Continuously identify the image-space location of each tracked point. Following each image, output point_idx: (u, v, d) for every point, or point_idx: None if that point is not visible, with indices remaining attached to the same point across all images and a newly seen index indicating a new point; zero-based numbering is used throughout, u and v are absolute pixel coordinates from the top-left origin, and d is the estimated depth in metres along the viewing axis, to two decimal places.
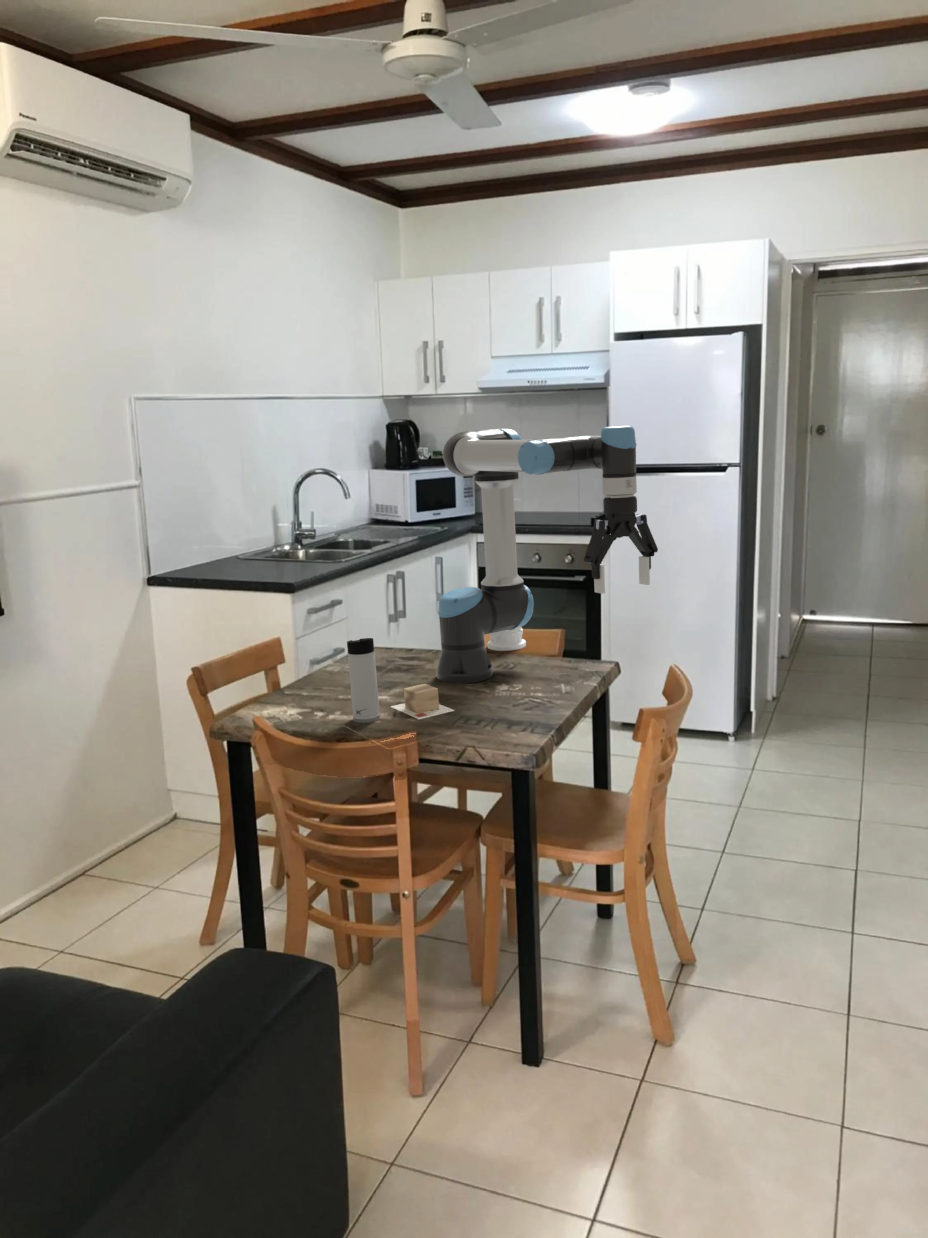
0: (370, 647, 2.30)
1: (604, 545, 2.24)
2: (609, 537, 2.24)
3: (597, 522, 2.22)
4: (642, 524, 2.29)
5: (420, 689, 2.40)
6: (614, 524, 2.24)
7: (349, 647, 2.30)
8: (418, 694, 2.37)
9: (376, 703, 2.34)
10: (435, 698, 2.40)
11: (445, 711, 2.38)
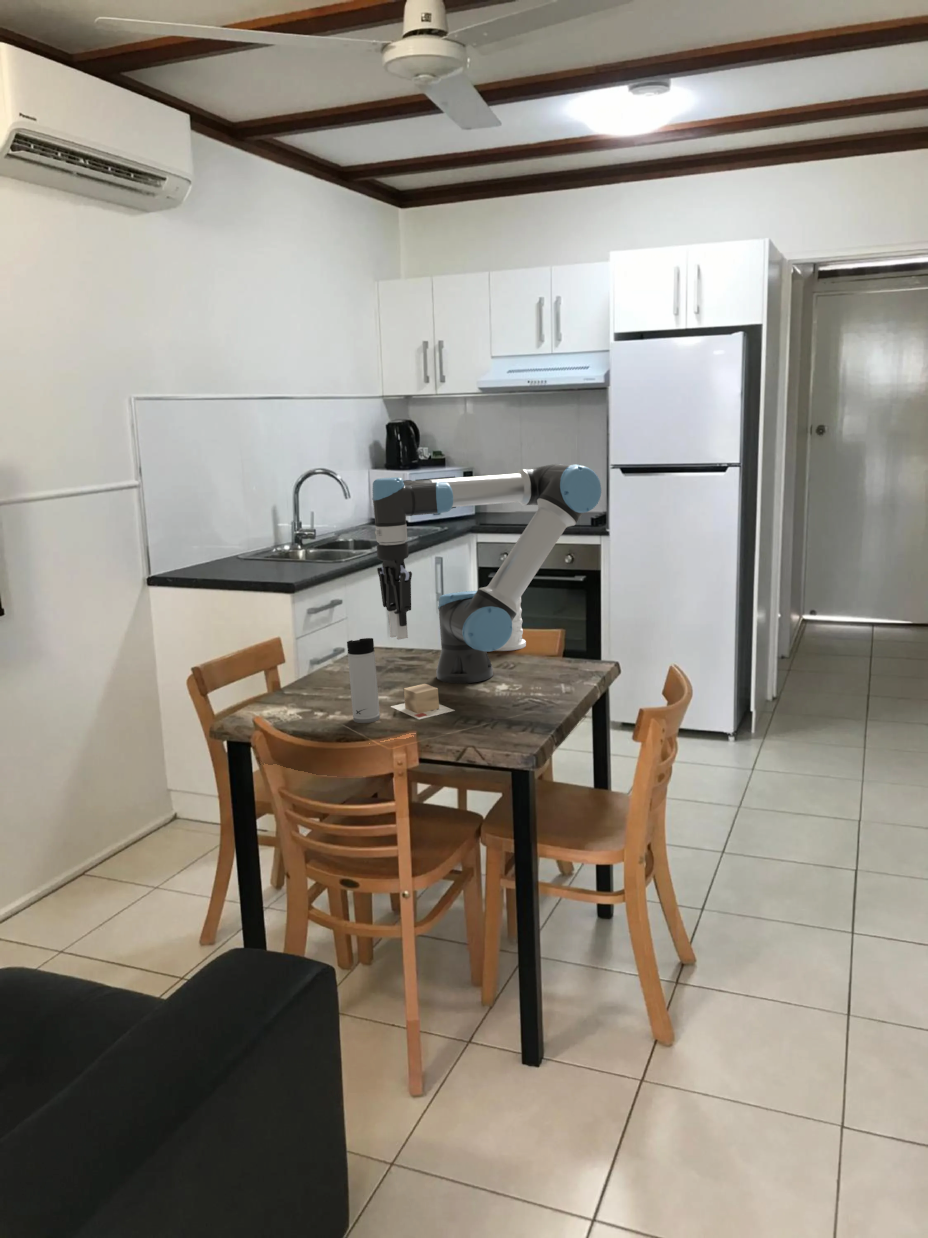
0: (370, 647, 2.31)
1: None
2: None
3: None
4: None
5: (420, 689, 2.40)
6: (384, 566, 2.44)
7: (349, 647, 2.30)
8: (418, 694, 2.37)
9: (376, 703, 2.34)
10: (435, 698, 2.40)
11: (445, 711, 2.38)
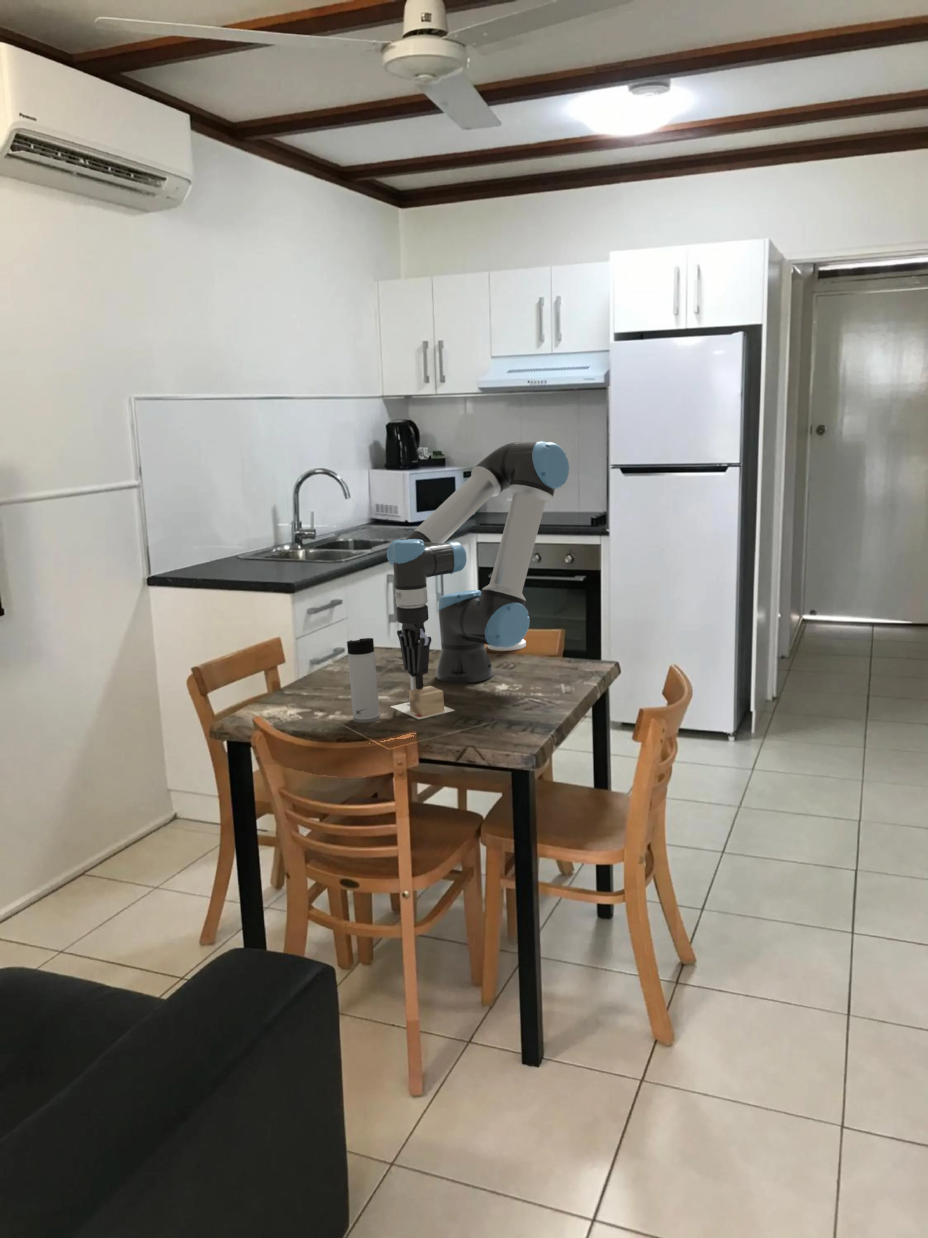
0: (370, 647, 2.31)
1: None
2: None
3: None
4: None
5: (425, 691, 2.38)
6: (404, 628, 2.40)
7: (349, 647, 2.30)
8: (423, 697, 2.34)
9: (376, 703, 2.34)
10: (440, 701, 2.37)
11: (445, 711, 2.38)
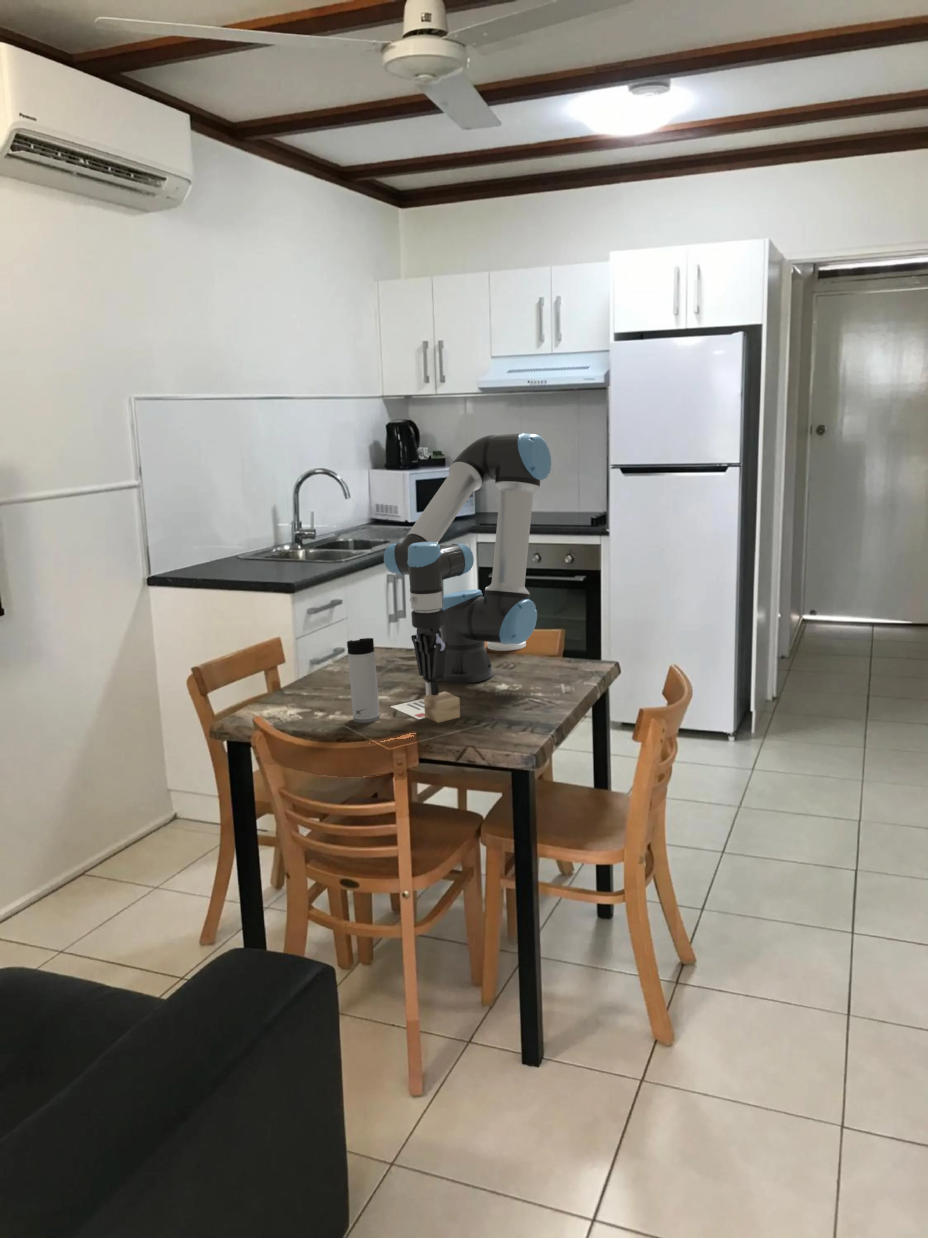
0: (370, 647, 2.31)
1: None
2: None
3: None
4: None
5: (441, 698, 2.32)
6: (418, 633, 2.34)
7: (349, 647, 2.30)
8: (439, 704, 2.29)
9: (376, 703, 2.34)
10: (456, 708, 2.32)
11: None
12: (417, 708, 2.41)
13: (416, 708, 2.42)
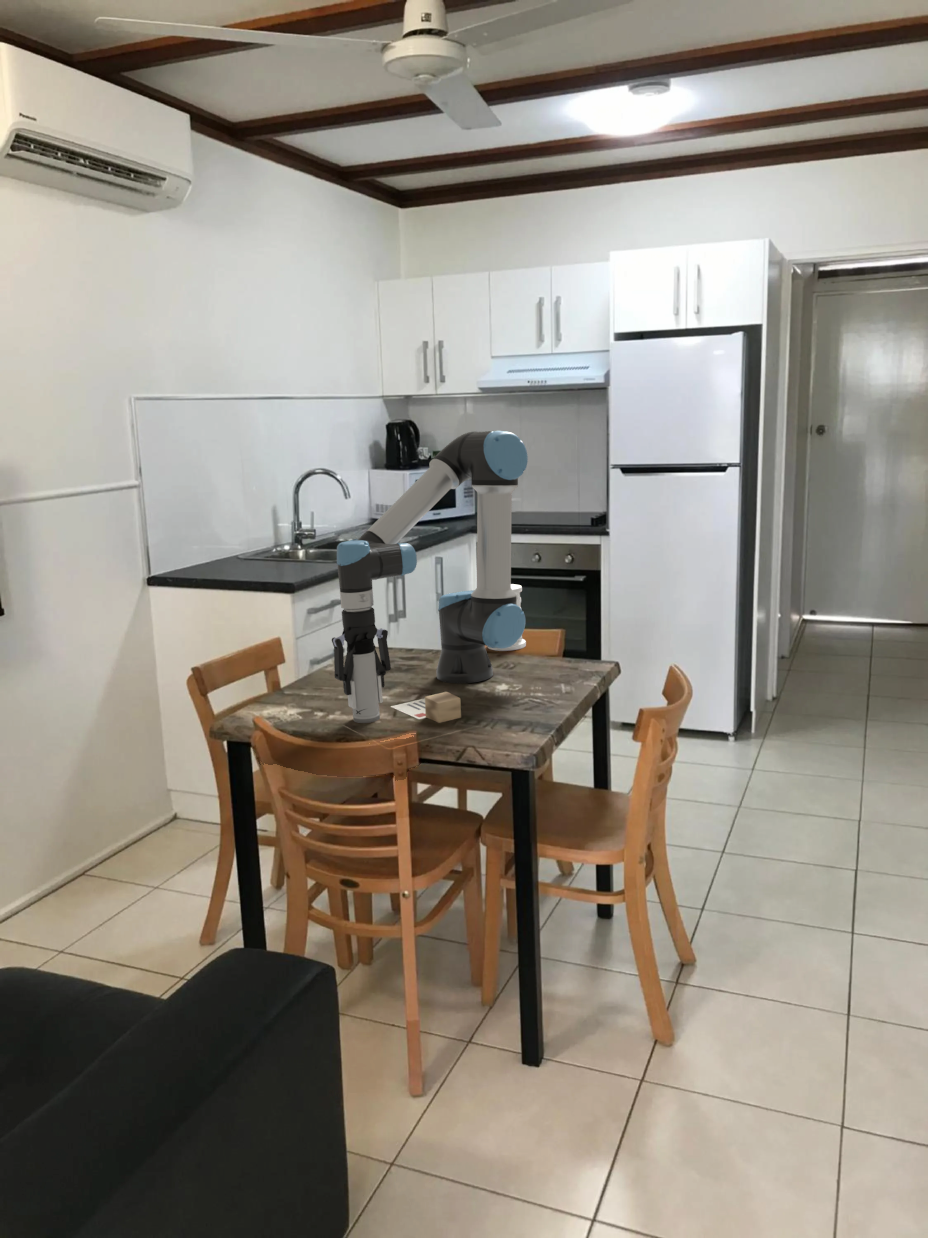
0: (370, 647, 2.30)
1: (349, 661, 2.30)
2: (351, 652, 2.30)
3: (334, 642, 2.28)
4: (381, 639, 2.34)
5: (442, 698, 2.32)
6: (351, 636, 2.29)
7: (349, 647, 2.30)
8: (440, 705, 2.29)
9: (376, 703, 2.34)
10: (457, 708, 2.32)
11: None
12: (417, 708, 2.41)
13: (416, 708, 2.42)
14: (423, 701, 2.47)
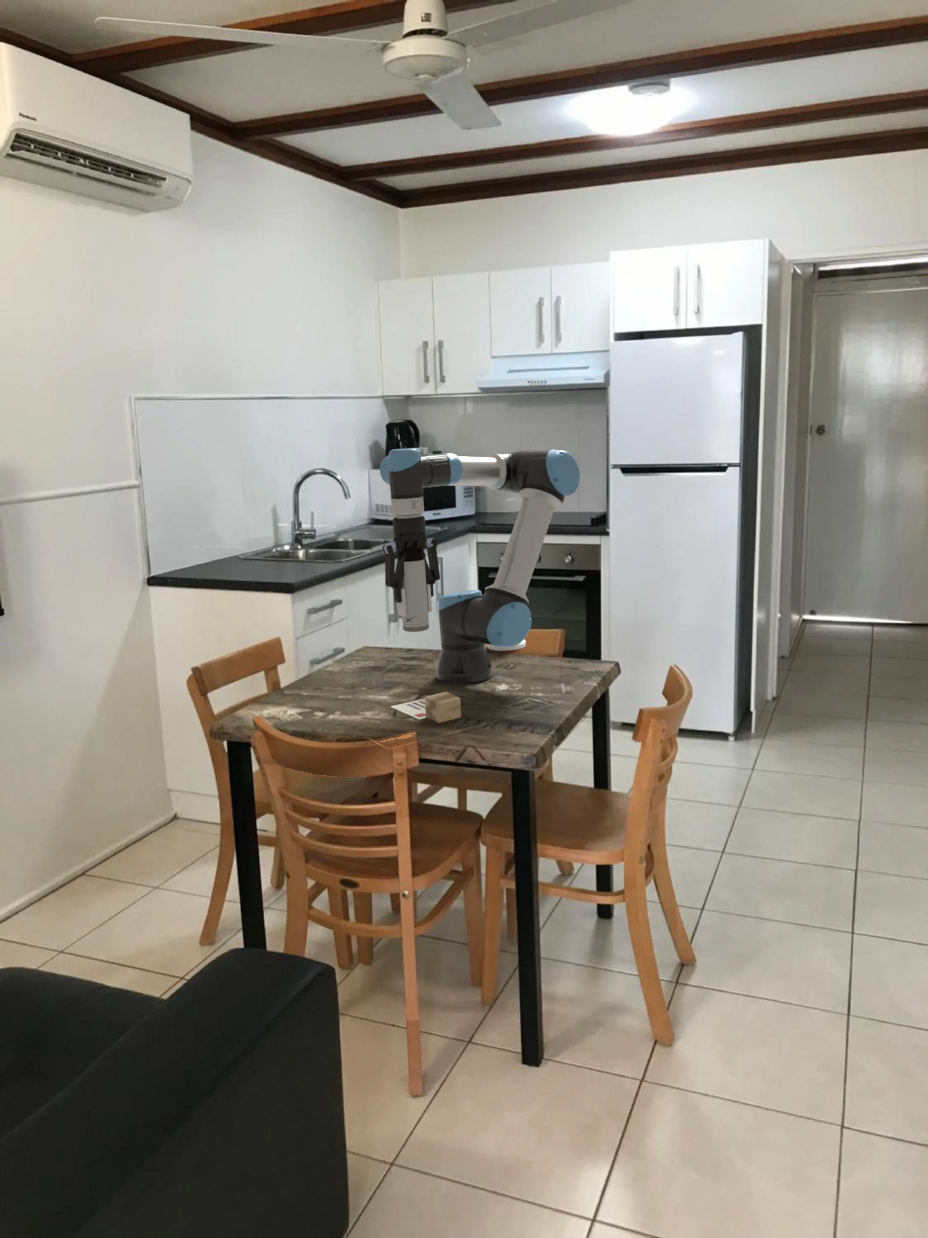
0: (421, 554, 2.32)
1: (399, 568, 2.32)
2: (402, 559, 2.32)
3: (385, 548, 2.30)
4: (431, 547, 2.35)
5: (442, 698, 2.32)
6: (402, 543, 2.31)
7: (400, 554, 2.32)
8: (440, 705, 2.29)
9: (426, 611, 2.35)
10: (457, 708, 2.32)
11: None
12: (417, 708, 2.41)
13: (416, 708, 2.42)
14: (423, 701, 2.47)
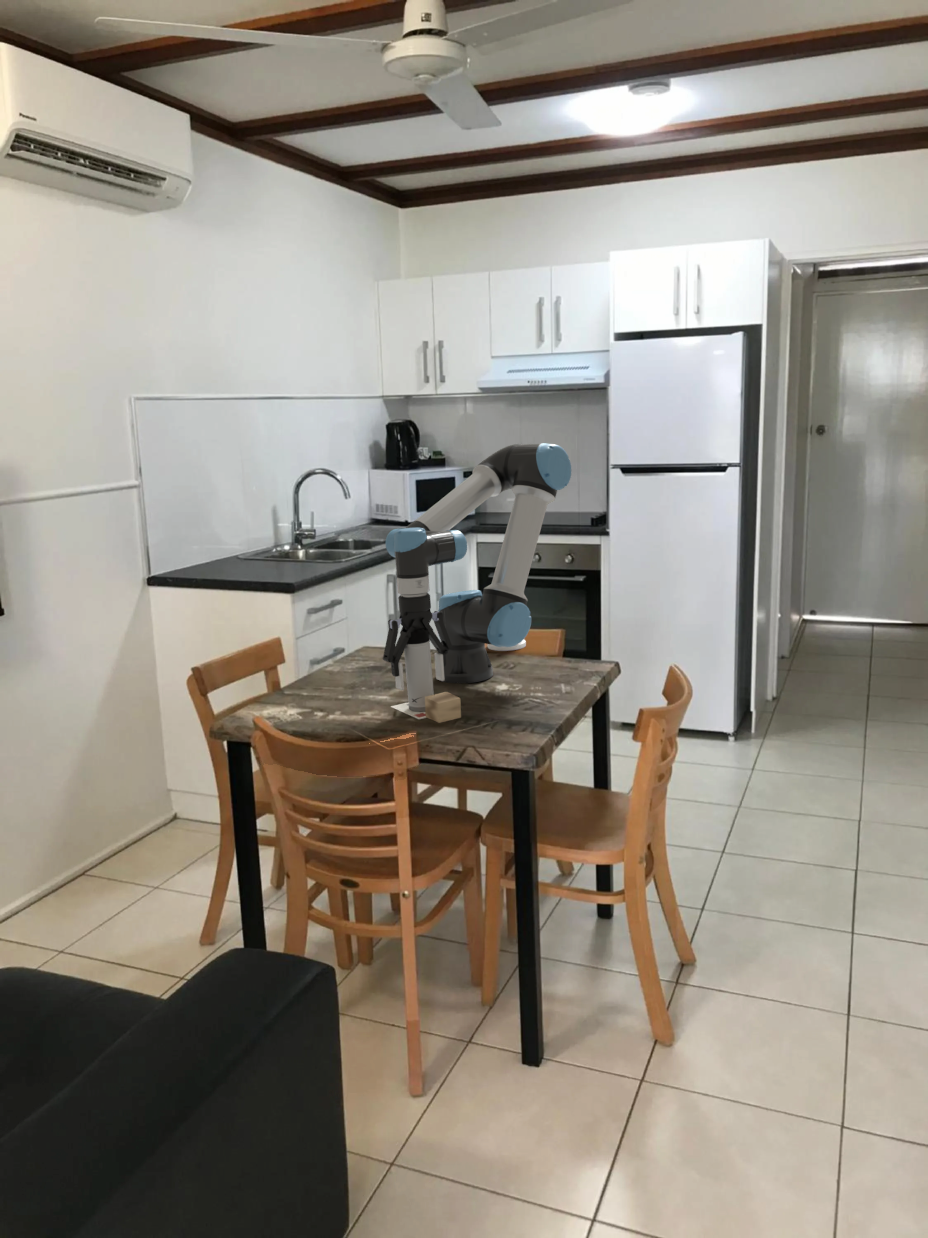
0: (426, 636, 2.36)
1: (400, 644, 2.35)
2: (404, 635, 2.35)
3: (390, 623, 2.33)
4: (438, 621, 2.39)
5: (442, 698, 2.32)
6: (408, 621, 2.35)
7: None
8: (440, 705, 2.29)
9: (431, 691, 2.39)
10: (457, 708, 2.32)
11: None
12: None
13: None
14: None
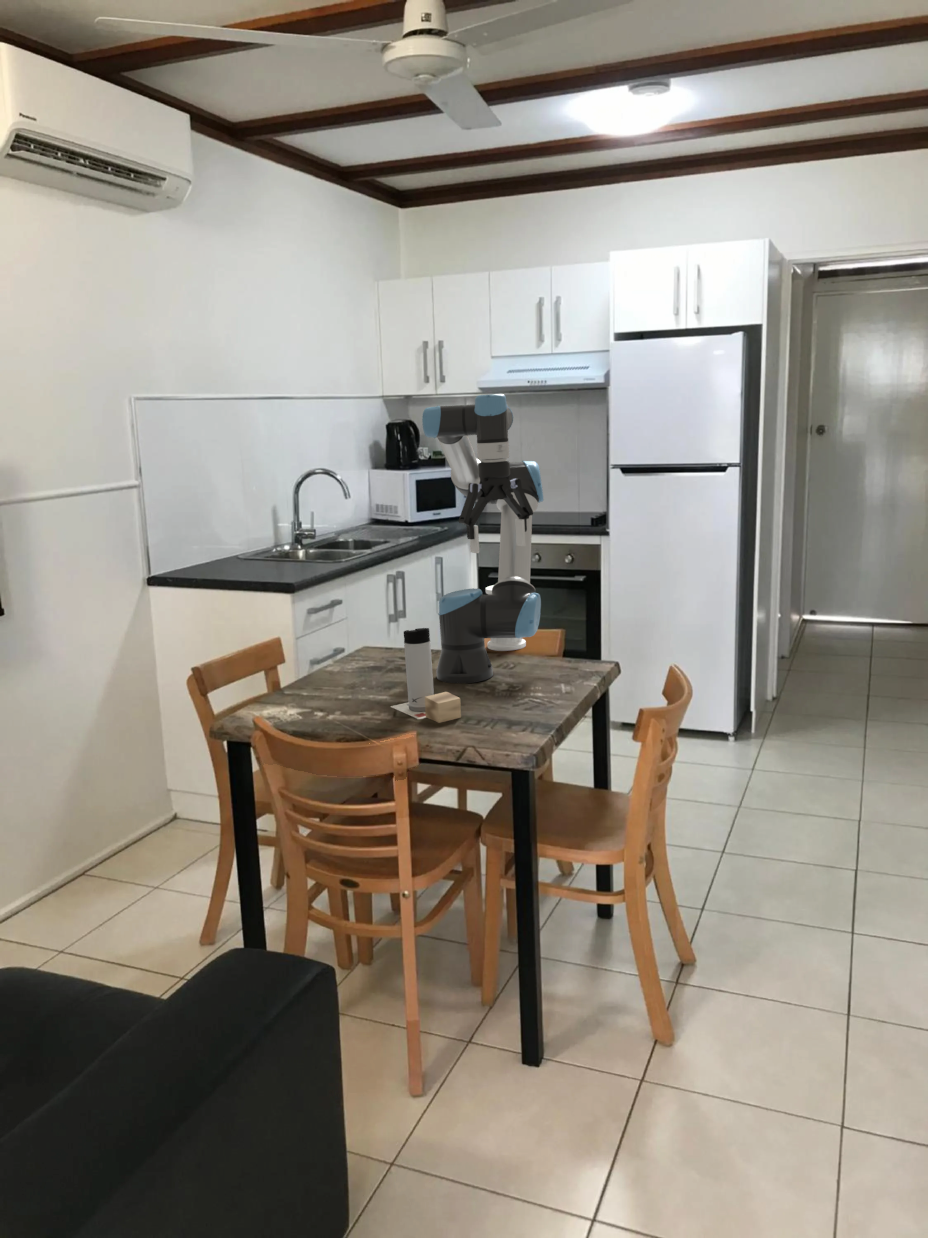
0: (426, 636, 2.36)
1: (478, 507, 2.36)
2: (483, 499, 2.37)
3: (471, 485, 2.35)
4: (517, 488, 2.42)
5: (442, 698, 2.32)
6: (487, 487, 2.37)
7: (406, 637, 2.36)
8: (440, 705, 2.29)
9: (431, 691, 2.39)
10: (457, 708, 2.32)
11: None
12: None
13: None
14: None
